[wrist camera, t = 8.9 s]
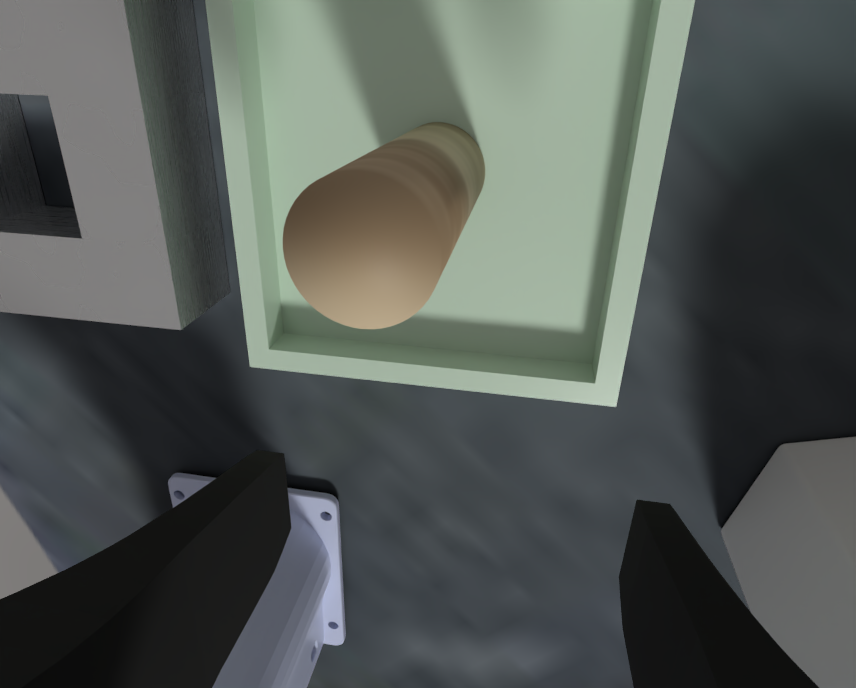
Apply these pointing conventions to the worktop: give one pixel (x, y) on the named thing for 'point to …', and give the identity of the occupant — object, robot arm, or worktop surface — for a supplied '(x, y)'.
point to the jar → (802, 555)
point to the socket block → (109, 165)
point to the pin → (384, 226)
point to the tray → (503, 187)
